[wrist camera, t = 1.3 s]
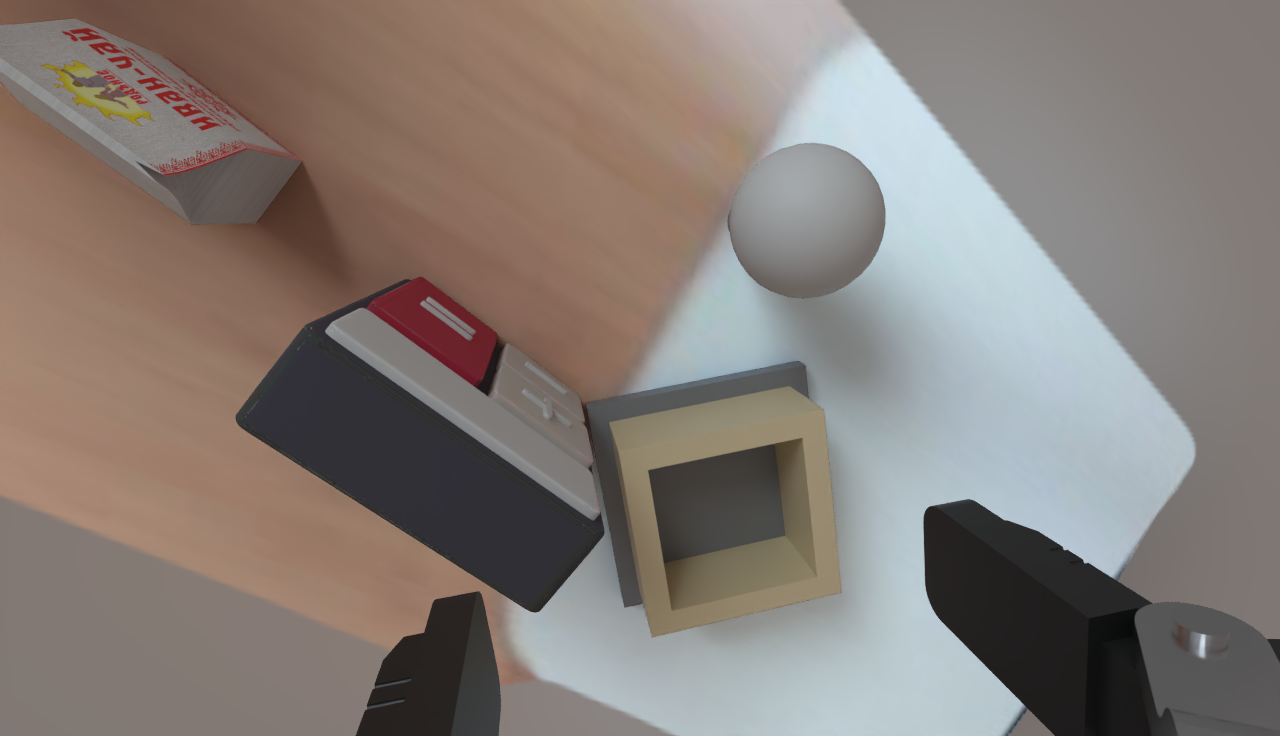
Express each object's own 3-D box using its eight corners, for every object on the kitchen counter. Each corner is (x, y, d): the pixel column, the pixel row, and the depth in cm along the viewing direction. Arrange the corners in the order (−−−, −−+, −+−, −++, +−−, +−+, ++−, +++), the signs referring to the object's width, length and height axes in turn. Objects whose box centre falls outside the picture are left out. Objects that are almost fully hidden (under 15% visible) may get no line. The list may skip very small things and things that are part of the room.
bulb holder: (585, 402, 35) (593, 435, 30) (798, 360, 37) (841, 385, 31) (622, 597, 38) (635, 658, 33) (818, 552, 39) (861, 605, 34)
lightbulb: (821, 190, 35) (944, 179, 24) (771, 297, 36) (870, 331, 25) (719, 139, 33) (803, 103, 23) (670, 252, 34) (728, 268, 24)
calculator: (589, 395, 35) (623, 520, 21) (539, 456, 36) (539, 620, 21) (417, 264, 33) (318, 302, 18) (364, 331, 33) (226, 421, 18)
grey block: (256, 223, 31) (127, 226, 21) (119, 124, 29) (-87, 78, 20) (302, 161, 31) (193, 135, 21) (166, 57, 29) (-19, -22, 19)
